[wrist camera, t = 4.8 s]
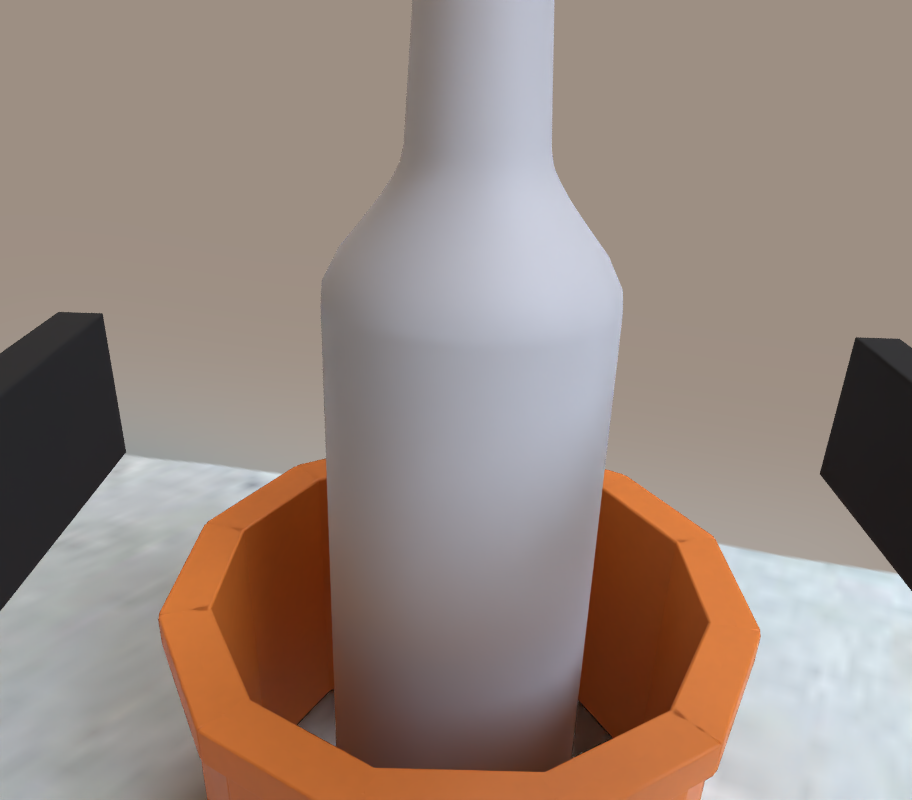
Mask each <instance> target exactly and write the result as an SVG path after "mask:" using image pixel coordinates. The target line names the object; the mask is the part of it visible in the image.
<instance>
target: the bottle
mask: <svg viewBox="0 0 912 800" xmlns="http://www.w3.org/2000/svg"><path fill="white" fill-rule="evenodd" d="M553 41H554V0H412V17H411V33H410V49H409V65H408V83H407V97H406V114H405V130H404V145H403V149H402V154H401V159H400V162H399V164H398V166H397V168H396V170H395V172H394V174H393V176H392V177H391V179H390V181H389V182H388V184H387V185H386V187H385V188H384V190H383V191H382V193H381V195H380V196H379V197H378V198H377V200H376V201H375V202H374V204H373V205H372V206H371V207H370V209H369V210H368V211H367V213H366V214H365V215H364V216H363V218H362V219H361V220H360V221H359V223H358V224H357V225H356V226H355V228H354V229H353V230H352V231H351V233H350V234H349V235H348V236H347V238H346V239H345V240H344V241H343V243H342V244H341V245H340V246H339V247H338V249H337V251H336V253H335V255H334V257H333V259H332V261H331V263H330V265H329V267H328V269H327V271H326V273H325V275H324V277H323V280H322V288H321V328H322V355H323V356H322V357H323V386H324V414H325V442H326V470H327V499H328V527H329V555H330V583H331V611H332V640H333V668H334V696H335V724H336V747H337V748H339V749H341V750H343V751H345V752H347V753H348V754H350V755H352V756H354V757H356V758H358V759H359V760H361V761H363V762H365V763H367V764H369V765H370V766H372V767H374V768H410V769H449V770H488V771H526V772H546V771H548V770H550V769H552V768H554V767H556V766H558V765H560V764H562V763H564V762H566V761H568V760H570V759H571V756H572V747H573V739H574V730H575V722H576V713H577V704H578V696H579V687H580V678H581V670H582V661H583V652H584V644H585V635H586V626H587V618H588V609H589V601H590V592H591V583H592V575H593V566H594V557H595V549H596V540H597V531H598V523H599V514H600V506H601V497H602V488H603V480H604V471H605V462H606V453H607V445H608V436H609V428H610V419H611V410H612V402H613V393H614V385H615V376H616V367H617V359H618V350H619V341H620V333H621V324H622V313H623V290H622V288H621V285H620V283H619V280H618V278H617V276H616V273H615V271H614V268H613V266H612V263H611V261H610V258H609V256H608V255H607V253H606V252H605V251H604V249H603V248H602V246H601V245H600V243H599V242H598V240H597V239H596V238H595V236H594V235H593V233H592V232H591V230H590V229H589V228H588V226H587V225H586V223H585V222H584V220H583V219H582V217H581V216H580V214H579V213H578V211H577V210H576V208H575V207H574V205H573V204H572V202H571V201H570V199H569V197H568V195H567V193H566V191H565V190H564V188H563V186H562V184H561V182H560V180H559V178H558V176H557V173H556V171H555V169H554V163H553V156H552V99H553V98H552V97H553Z"/></svg>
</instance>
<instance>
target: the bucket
mask: <svg viewBox="0 0 912 800" xmlns="http://www.w3.org/2000/svg"><path fill="white" fill-rule="evenodd" d="M158 621H159V627H160V633H161V639H162V645H163V648H164V651H165V654H166V657H167V660H168V663H169V666H170V669H171V672H172V675H173V679H174V682H175V685H176V688H177V691H178V694H179V697H180V700H181V703H182V706H183V709H184V712H185V715H186V718H187V721H188V724H189V727H190V730H191V733H192V736H193V739H194V742H195V745H196V748H197V751H198V754H199V757H200V758H201V761H202V768H203V774H204V781H205V787H206V794H207V800H700V799H701V795H702V790H703V786H704V782H705V780H707V779H708V778H710V777H712V776H713V775H714V773H715V772H716V771H717V769H718V767H719V764H720V761H721V758H722V755H723V752H724V749H725V746H726V743H727V740H728V737H729V734H730V731H731V728H732V725H733V723H734V720H735V717H736V714H737V711H738V708H739V705H740V702H741V699H742V696H743V693H744V690H745V687H746V684H747V681H748V679H749V676H750V673H751V670H752V667H753V664H754V661H755V657H756V653H757V649H758V645H759V641H760V637H761V635H760V629H759V627H758V625H757V623H756V621H755V619H754V617H753V615H752V613H751V611H750V608H749V606H748V604H747V602H746V600H745V598H744V596H743V594H742V592H741V590H740V588H739V586H738V584H737V582H736V580H735V578H734V576H733V574H732V572H731V570H730V568H729V566H728V564H727V562H726V560H725V558H724V556H723V554H722V552H721V550H720V548H719V546H718V544H717V542H716V540H715V539H714V537H713V536H712V535H711V534H709V533H708V532H706V531H705V530H703V529H702V528H700V527H699V526H698V525H696V524H694V523H693V522H692V521H691V520H689V519H688V518H686V517H685V516H683V515H682V514H681V513H679V512H678V511H676V510H675V509H673V508H672V507H670V506H669V505H668V504H666V503H665V502H663V501H662V500H660V499H659V498H657V497H656V496H655V495H653V494H652V493H650V492H649V491H647V490H646V489H644V488H643V487H641V486H640V485H639V484H637V483H636V482H634V481H633V480H632V479H630V478H629V477H627V476H625V475H623V474H620V473H616V472H613V471H610V470H606V469H605V471H604V480H603V488H602V497H601V506H600V514H599V523H598V531H597V540H596V549H595V557H594V566H593V575H592V583H591V592H590V601H589V609H588V618H587V626H586V635H585V644H584V652H583V661H582V670H581V678H580V687H579V696H578V700H579V701H580V702H581V703H582V704H583V705H584V707H585V708H586V709H587V710H588V711H589V712H590V713H591V714H592V715H593V717H594V718H595V719H596V720H597V721H598V722H599V723H600V724H601V725H602V726H603V728H604V729H605V730H606V731H607V732H608V733H609V734H610V735H611V736H612V738H613V739H611V740H609V741H607V742H605V743H603V744H601V745H599V746H597V747H595V748H593V749H591V750H588V751H586V752H584V753H582V754H580V755H578V756H576V757H574V758H572V759H570V760H568V761H566V762H564V763H562V764H560V765H558V766H556V767H554V768H552V769H550V770H548V771H546V772H526V771H488V770H449V769H410V768H374V767H372V766H370V765H369V764H367V763H365V762H363V761H361V760H359V759H358V758H356V757H354V756H352V755H350V754H348V753H347V752H345V751H343V750H341V749H339V748H337V747H336V746H334V745H332V744H330V743H328V742H326V741H325V740H323V739H321V738H319V737H317V736H315V735H314V734H312V733H310V732H308V731H306V730H304V729H303V728H301V727H299V726H297V723H298V722H299V721H300V720H301V719H302V718H303V717H304V716H305V715H306V714H307V713H308V712H309V711H310V710H311V709H312V708H313V707H314V706H315V705H316V704H317V703H318V702H319V701H320V700H321V699H322V698H323V697H324V696H325V695H326V694H327V693H328V692H329V691H330V690H333V689H334V668H333V640H332V611H331V583H330V555H329V527H328V499H327V470H326V459H322V460H317V461H314V462H309V463H305V464H300V465H298V466H297V467H293V468H292V469H290V470H288V471H287V472H285V473H284V474H282V475H281V476H279V477H277V478H276V479H274V480H273V481H271V482H270V483H268V484H266V485H265V486H263V487H262V488H260V489H259V490H257V491H255V492H254V493H252V494H251V495H249V496H248V497H246V498H244V499H243V500H241V501H240V502H238V503H237V504H235V505H233V506H232V507H230V508H229V509H227V510H226V511H224V512H222V513H221V514H219V515H218V516H216V517H214V518H213V519H211V520H210V521H208V522H207V524H205V525H204V527H203V529H202V531H201V533H200V535H199V537H198V539H197V541H196V543H195V544H194V546H193V548H192V550H191V552H190V554H189V556H188V558H187V560H186V562H185V564H184V566H183V568H182V570H181V572H180V574H179V576H178V578H177V580H176V582H175V584H174V585H173V587H172V589H171V591H170V593H169V595H168V597H167V599H166V601H165V603H164V605H163V607H162V609H161V611H160V613H159V618H158Z"/></svg>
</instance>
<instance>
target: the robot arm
mask: <svg viewBox="0 0 912 800" xmlns="http://www.w3.org/2000/svg"><path fill="white" fill-rule="evenodd" d="M125 453H126V449H125V444H124V438H123V431H122V426H121V420H120V414H119V408H118V402H117V396H116V391H115V385H114V378H113V372H112V367H111V361H110V355H109V350H108V344H107V337H106V331H105V326H104V319H103V314H102V313H101V314H100V313H71V312H58V313H56V314H55V315H54V316H52V317H51V318H49V319H48V320H47V321H45V322H44V323H42V324H41V325H40V326H38V327H37V328H35V329H34V330H32V331H31V332H30V333H28V334H27V335H26V336H24V337H23V338H21V339H20V340H18V341H17V342H16V343H14V344H13V345H11V346H10V347H9V348H7V349H6V350H4V351H3V352H2V353H0V611H1V609H2V608H3V607H4V606H5V604H6V603H7V602H8V601H9V599H10V598H11V597H12V596H13V594H14V593H15V592H16V590H17V589H18V588H19V587H20V585H21V584H22V583H23V582H24V580H25V579H26V578H27V577H28V575H29V574H30V573H31V572H32V570H33V569H34V568H35V566H36V565H37V564H38V563H39V561H40V560H41V559H42V558H43V556H44V555H45V554H46V553H47V551H48V550H49V549H50V548H51V546H52V545H53V544H54V542H55V541H56V540H57V539H58V537H59V536H60V535H61V534H62V532H63V531H64V530H65V529H66V527H67V526H68V525H69V524H70V522H71V521H72V520H73V518H74V517H75V516H76V515H77V513H78V512H79V511H80V510H81V508H82V507H83V506H84V505H85V503H86V502H87V501H88V500H89V498H90V497H91V496H92V494H93V493H94V492H95V491H96V489H97V488H98V487H99V486H100V484H101V483H102V482H103V481H104V479H105V478H106V477H107V476H108V474H109V473H110V472H111V470H112V469H113V468H114V467H115V465H116V464H117V463H118V462H119V460H120V459H121V458H122V457H123V455H124V454H125ZM820 475H821V476H822V477H823V479H824V480H825V481H826V482H827V484H828V485H829V486H830V487H831V489H832V490H833V491H834V493H835V494H836V495H837V496H838V498H839V499H840V500H841V502H842V503H843V504H844V505H845V506H846V508H847V509H848V510H849V512H850V513H851V514H852V516H853V517H854V518H855V519H856V520H857V522H858V523H859V524H860V525H861V527H862V528H863V530H864V531H865V532H866V533H867V535H868V536H869V537H870V538H871V540H872V541H873V542H874V543H875V545H876V546H877V547H878V549H879V550H880V551H881V552H882V554H883V555H884V556H885V557H886V559H887V560H888V561H889V563H890V564H891V565H892V566H893V568H894V569H895V570H896V571H897V573H898V574H899V575H900V577H901V578H902V579H903V580H904V582H905V583H906V584H907V586H908V587H909V588H910V589H911V591H912V348H911V347H910V346H908V345H907V344H906V343H904V342H903V341H902V340H900V339H886V338H885V339H884V338H855V342H854V346H853V349H852V353H851V357H850V361H849V365H848V368H847V372H846V376H845V380H844V385H843V387H842V391H841V395H840V399H839V403H838V406H837V411H836V414H835V418H834V422H833V426H832V429H831V434H830V437H829V441H828V445H827V448H826V452H825V456H824V460H823V464H822V468H821V471H820Z"/></svg>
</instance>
